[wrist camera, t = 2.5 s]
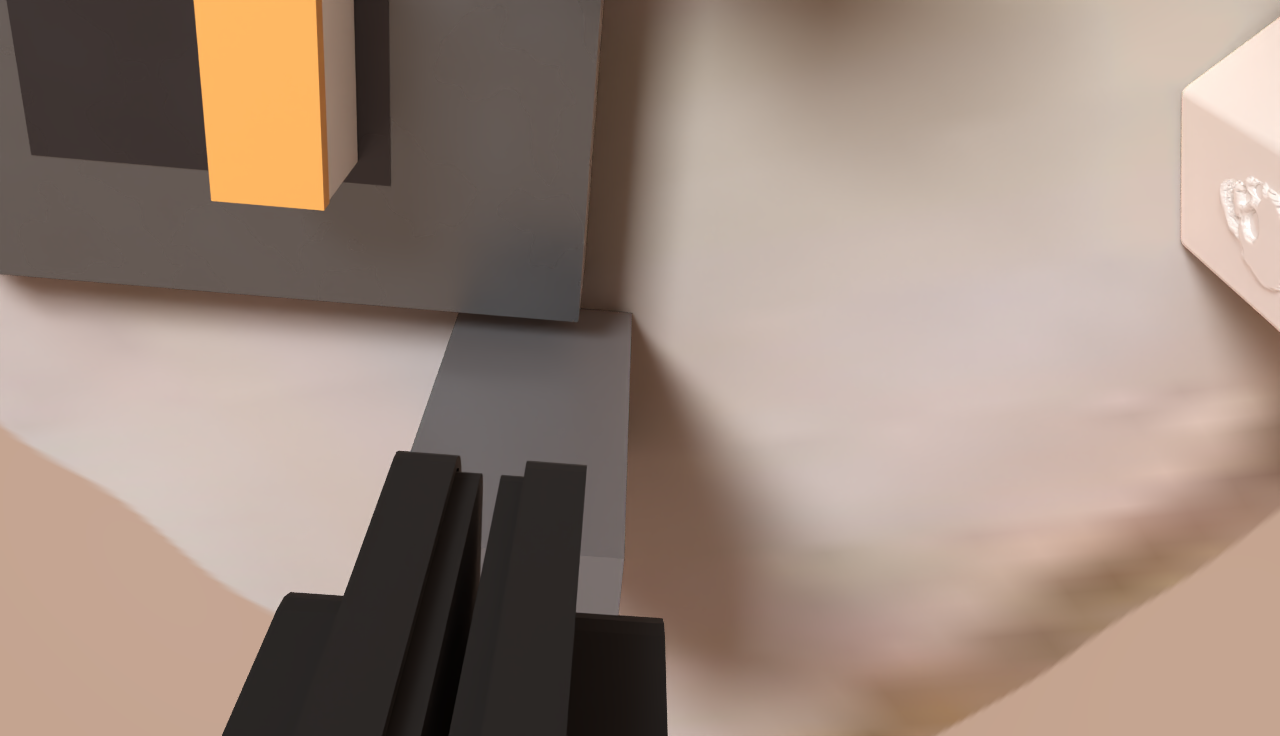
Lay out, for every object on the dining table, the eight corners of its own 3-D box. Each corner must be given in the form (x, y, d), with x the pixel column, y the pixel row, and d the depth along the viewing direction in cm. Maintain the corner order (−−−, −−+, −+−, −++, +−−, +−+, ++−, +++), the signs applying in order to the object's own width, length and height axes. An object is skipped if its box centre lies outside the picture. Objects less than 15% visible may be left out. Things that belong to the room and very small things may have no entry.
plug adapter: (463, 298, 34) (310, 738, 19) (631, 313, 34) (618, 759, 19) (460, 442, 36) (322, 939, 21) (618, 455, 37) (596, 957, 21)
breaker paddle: (242, -104, 26) (186, -86, 23) (353, -94, 26) (312, -74, 23) (259, 152, 29) (211, 201, 26) (360, 161, 29) (324, 210, 26)
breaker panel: (-153, -344, 27) (-244, -356, 24) (623, -265, 27) (619, -268, 25) (-42, 225, 33) (-103, 266, 30) (583, 278, 34) (578, 323, 31)
